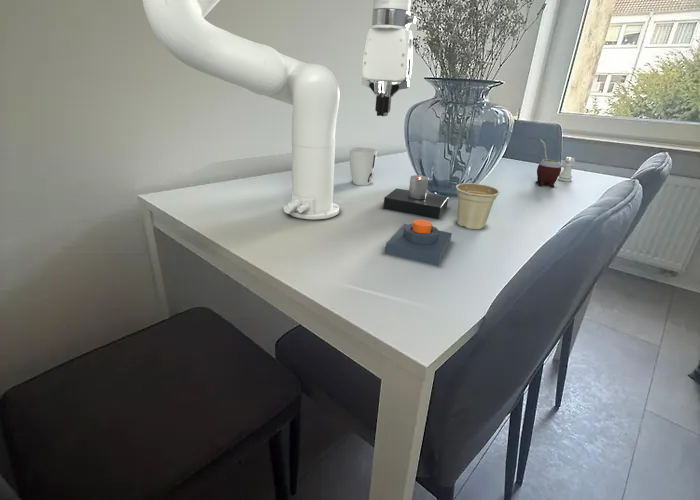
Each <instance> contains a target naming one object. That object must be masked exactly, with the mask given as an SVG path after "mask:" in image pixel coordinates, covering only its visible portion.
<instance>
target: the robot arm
mask: <svg viewBox="0 0 700 500" xmlns="http://www.w3.org/2000/svg"><path fill="white" fill-rule="evenodd" d="M141 1H142V6H143V10H144V13H145V16H146V19H147V21H148V23H149V26H150V28H151V29H152V32H153V33H154V35H155V37H156V38H157V40H158V41H159V42H160V43H161V45H162V46H163V47H164V48H165V49H166V50H167V51H168V52H169V53H170V55H172V56H173V57H174V58H176V59H177V60H178V61H180V62H181V63H182V64H184V65H186V66H187V67H190V68H192V69H194V70H196V71H199V72H201V73H203V74H206V75H209V76H211V77H213V78H217V79H219V80H222V81H224V82H227V83H230V84H232V85H235V86H238V87H241V88H243V89H245V90H248V91H249V92H252V93H253V94H255V95H259V96H265V97H268V98H271V99H274V100H277V101H280V102H283V103H286V104H288V105H292V115H291V116H292V117H291V178H292V179H291V194H292V195H291V200H290V201H288V203H286V204H285V205H284V206H283V207H282V208H283V212H284V213H286V214H288V215H289V216H291V217H294V218H297V219H302V220H313V221H314V220H326V219H331V218H333V217H336V216H337V215H338V214H339V213H340V206H339V205H338V204H337V203H335V202H334V184H335V183H334V182H335V160H336V159H335V158H336V157H335V156H336V133H337V132H336V131H337V130H336V129H337V120H338V119H337V118H338V112H339V107H340V106H339V105H340V98H341V97H340V95H341V94H340V93H341V91H340V86H339V82H338V79H337V77H336V76H335V74H334V73H333V72H332V70H331V69H329V67H327V66H325V65H322V64H320V63H319V64H318V63H306V62H303V61H301V60H298V59H296V58H293V57H291V56H289V55H286V54H284V53H281V52H279V51H278V50H276V49H275V48H274V47H272V46H270V45H268V44H264V43H258V42H255V41H253V40H250V39H247V38H244V37H242V36H239V35H237V34H234V33H232V32H229V31H228V30H225V29H223V28H221V27H218V26H216V25H214V24H212V23H210V22H209V21H208V20H206V16H207V15H208V14H209V13H210V12H211V11H212V10H213V9H214V8H215V6H216V5H217V4H218V3H220V1H221V0H141ZM411 2H412V0H373V3H372V18H371V28H368V31H367V35H366V37H365V44H364V48H363V54H362V55H363V56H362V62H361V63H362V65H361V76H362V78H361V85H362V86H364V87H367V88H370V90H371V91H372V92H373V93H374V96H375V112H376V116H377V117H387V116H388V115H389V113H390V112H391V105H392V97H394V95H396V93H398V91H401V90H406V89H409V88H410V80H411V78H412V77H411V76H412V69H413V31H412V30H410V29H409V28H410V25H412V24H416V22H417V16H416V15H412V13H411V4H412V3H411ZM384 82H386V87H385V91H384Z"/></svg>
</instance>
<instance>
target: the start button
mask: <svg viewBox="0 0 700 500" xmlns="http://www.w3.org/2000/svg"><path fill="white" fill-rule="evenodd" d="M412 223H413V227H412V231H415V232H417V233H431V228H432V226H433V223H432V221H430V220H427V219H421V218H419V219H414V220H413V221H412Z"/></svg>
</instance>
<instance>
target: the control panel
mask: <svg viewBox="0 0 700 500" xmlns="http://www.w3.org/2000/svg"><path fill="white" fill-rule="evenodd" d="M408 194H409V189H402V188H398V187H397V188H394V190H392V191H391V192H390V193H388V194H387V195H386V196H384V197H383V210H388V211H392V212H398V213H403V214H408V215H413V216H420V217H424V218H431V219H435V220H440V219H441V218H442V215H443V214H444V213H445V211H446V210H447V208H448V203H449V196H446V195H438V194H433V193H427V194H426V198H425V199H421V200H418V199H412V198H410V197H409V196H408Z"/></svg>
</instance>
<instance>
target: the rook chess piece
mask: <svg viewBox="0 0 700 500" xmlns="http://www.w3.org/2000/svg"><path fill="white" fill-rule="evenodd" d="M575 159H576V158H575V157H571V156H566V158H565V159H564V161H565V163H564V166H563V169H562V170H561V172H560V175H559V176H558V178H557V180H558V181H559V182H565V183H570V182H571V181H572V178H573V174H572V171H573V167H574V163H575V162H576V160H575Z"/></svg>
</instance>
